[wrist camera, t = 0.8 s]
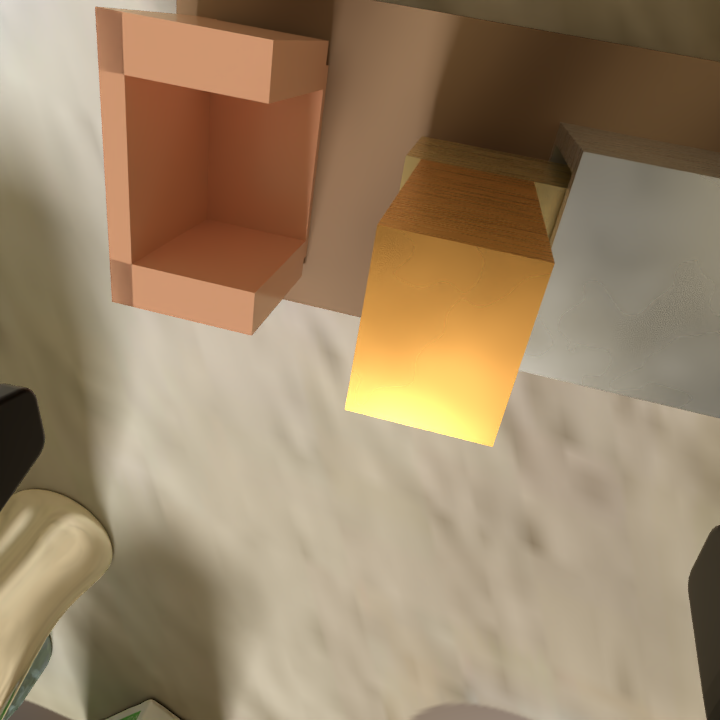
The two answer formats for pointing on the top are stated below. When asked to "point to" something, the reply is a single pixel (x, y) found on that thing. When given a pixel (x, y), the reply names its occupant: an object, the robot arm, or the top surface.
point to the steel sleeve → (634, 272)
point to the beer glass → (42, 574)
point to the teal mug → (31, 677)
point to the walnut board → (455, 107)
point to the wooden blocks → (455, 288)
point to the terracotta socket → (207, 162)
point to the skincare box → (145, 712)
